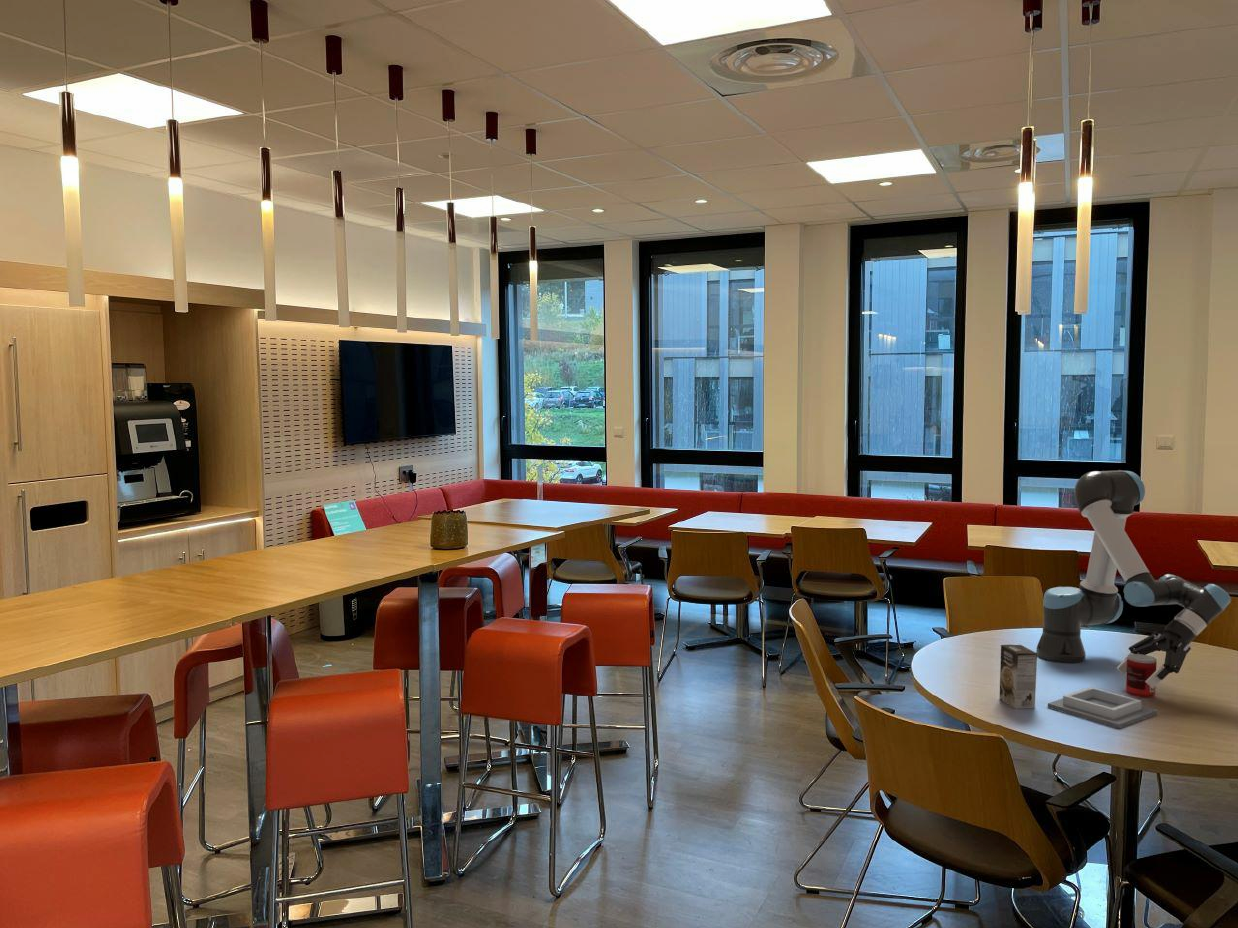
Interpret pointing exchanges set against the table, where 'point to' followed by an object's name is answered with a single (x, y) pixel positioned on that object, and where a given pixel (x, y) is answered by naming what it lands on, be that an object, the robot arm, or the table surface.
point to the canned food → (1140, 675)
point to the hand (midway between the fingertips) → (1134, 677)
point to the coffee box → (1018, 676)
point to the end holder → (1103, 707)
